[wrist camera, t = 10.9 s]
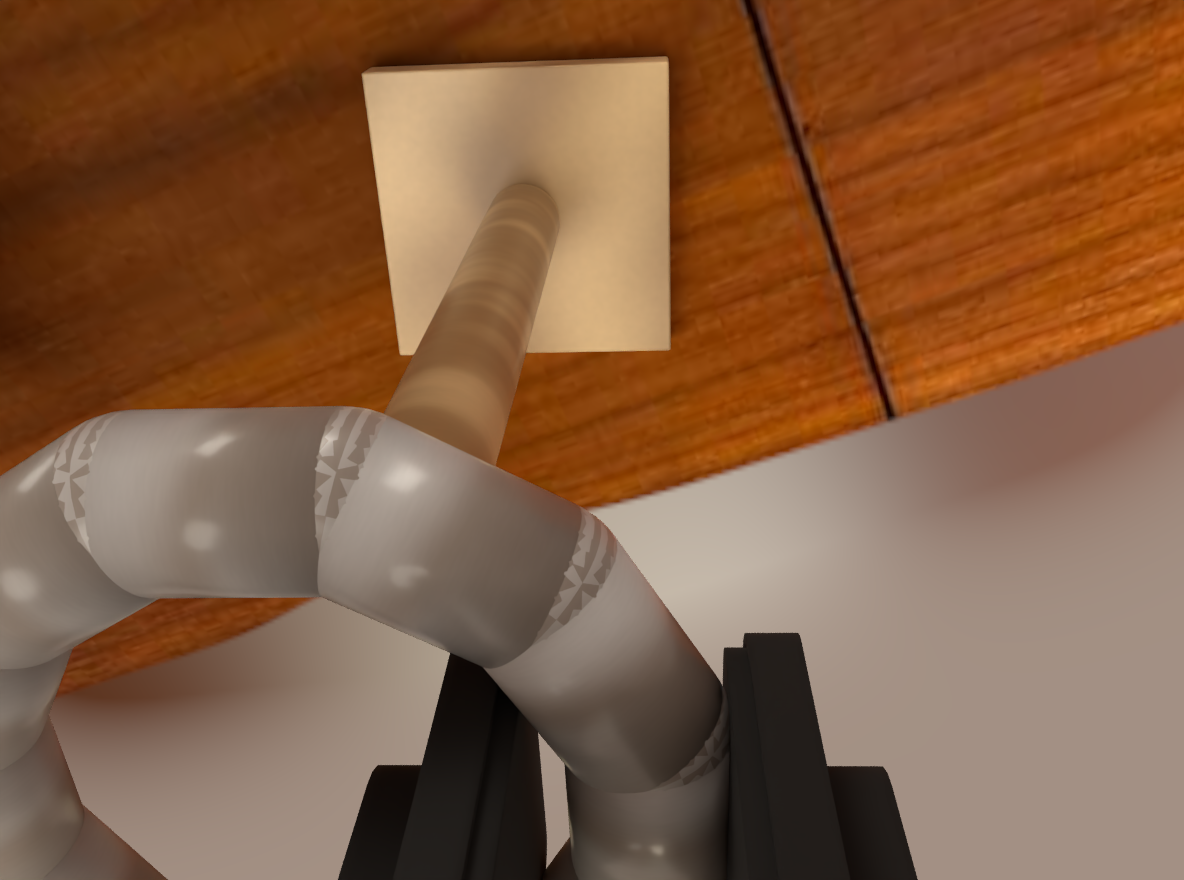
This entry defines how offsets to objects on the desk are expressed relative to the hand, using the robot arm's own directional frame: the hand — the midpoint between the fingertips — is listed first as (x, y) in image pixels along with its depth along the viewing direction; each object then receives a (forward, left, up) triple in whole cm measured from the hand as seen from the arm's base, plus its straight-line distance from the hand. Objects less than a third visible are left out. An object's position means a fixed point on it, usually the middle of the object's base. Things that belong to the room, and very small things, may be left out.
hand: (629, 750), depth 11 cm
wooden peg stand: (+3, 0, -21) cm, 21 cm away
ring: (+3, 0, +1) cm, 3 cm away
